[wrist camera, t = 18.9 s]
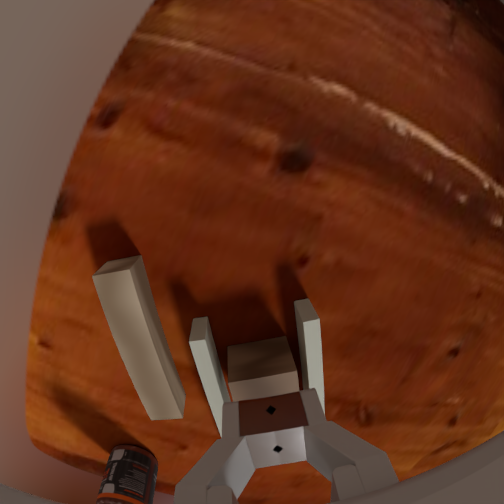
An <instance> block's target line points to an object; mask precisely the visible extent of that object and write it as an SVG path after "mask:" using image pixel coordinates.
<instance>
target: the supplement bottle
mask: <svg viewBox="0 0 504 504" xmlns="http://www.w3.org/2000/svg"><path fill="white" fill-rule="evenodd" d="M157 471H158V462H157V460H156V458H155V457H154V456H153V455H152V454H151V453H149V452H148V451H146V450H144V449H142V448H140V447H136V446H132V445H118V446H115V447H114V448H113V449H112V451H111V454H110V456H109V459H108V462H107V466H106V469H105V473H104V476H103V480H102V483H101V487H100V490H99V494H98V498H97V503H96V504H152V503H153V497H154V491H155V484H156V477H157Z"/></svg>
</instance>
